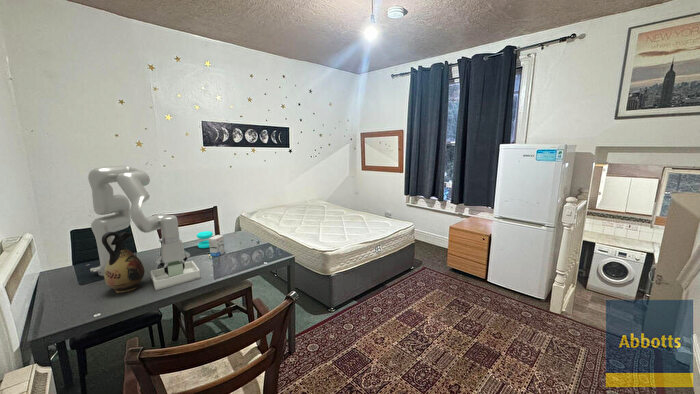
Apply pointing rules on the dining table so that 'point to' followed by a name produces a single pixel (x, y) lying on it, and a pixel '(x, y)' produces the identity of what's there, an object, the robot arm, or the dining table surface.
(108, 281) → the ceramic jug
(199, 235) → the donuts
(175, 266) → the box
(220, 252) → the ink box
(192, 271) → the white shallow tray
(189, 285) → the dining table surface
